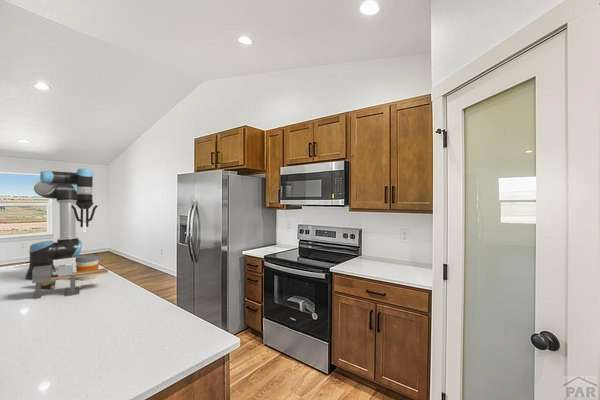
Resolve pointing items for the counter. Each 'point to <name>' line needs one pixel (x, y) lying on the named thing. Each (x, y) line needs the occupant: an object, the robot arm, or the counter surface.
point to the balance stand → (69, 291)
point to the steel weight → (65, 270)
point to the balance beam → (46, 274)
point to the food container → (49, 283)
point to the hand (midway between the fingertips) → (84, 232)
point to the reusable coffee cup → (87, 264)
